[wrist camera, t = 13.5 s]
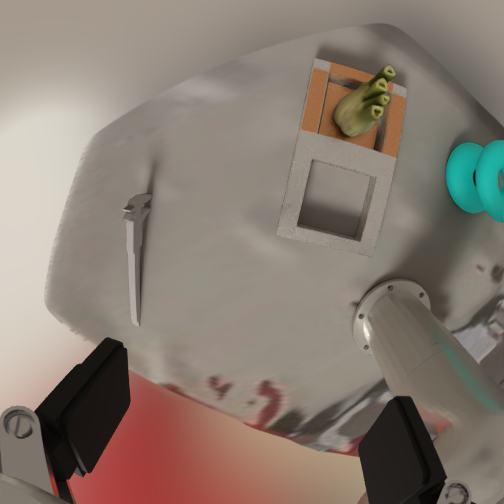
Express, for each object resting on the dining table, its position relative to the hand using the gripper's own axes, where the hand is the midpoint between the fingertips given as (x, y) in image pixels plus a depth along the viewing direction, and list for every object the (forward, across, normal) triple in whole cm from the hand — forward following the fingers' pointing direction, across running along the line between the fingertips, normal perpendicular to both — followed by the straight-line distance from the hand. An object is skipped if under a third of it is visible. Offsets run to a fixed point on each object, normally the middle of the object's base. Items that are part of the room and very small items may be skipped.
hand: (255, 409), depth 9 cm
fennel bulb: (+28, -7, -17) cm, 34 cm away
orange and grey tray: (+28, -6, -12) cm, 31 cm away
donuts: (+29, -26, -15) cm, 41 cm away
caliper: (+29, +17, +8) cm, 34 cm away
